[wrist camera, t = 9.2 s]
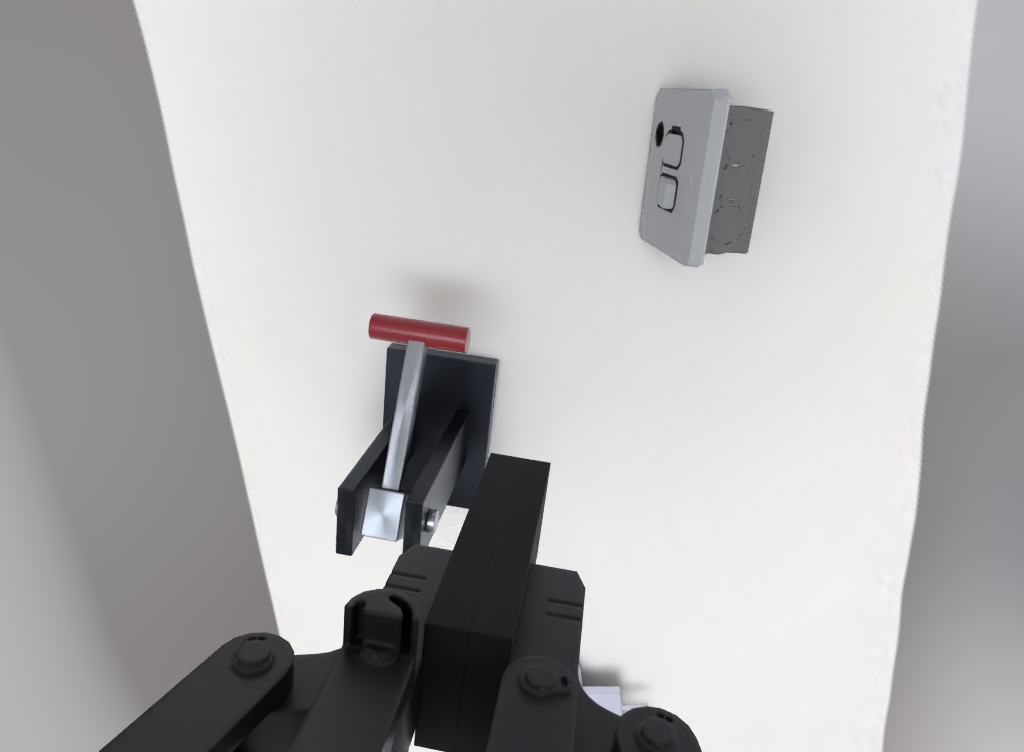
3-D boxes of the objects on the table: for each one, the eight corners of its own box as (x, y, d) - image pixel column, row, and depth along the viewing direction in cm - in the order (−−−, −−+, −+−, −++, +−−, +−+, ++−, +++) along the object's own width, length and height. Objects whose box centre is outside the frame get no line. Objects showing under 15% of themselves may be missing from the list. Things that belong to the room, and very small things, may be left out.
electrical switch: (657, 86, 47) (681, 85, 38) (740, 93, 47) (784, 93, 38) (637, 236, 50) (655, 267, 41) (715, 243, 50) (749, 275, 41)
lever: (379, 317, 48) (369, 309, 45) (472, 331, 47) (467, 324, 45) (340, 526, 46) (328, 529, 44) (436, 543, 46) (428, 547, 43)
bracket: (391, 343, 55) (313, 423, 41) (498, 359, 54) (455, 447, 41) (383, 486, 60) (309, 602, 46) (482, 503, 59) (438, 626, 45)
